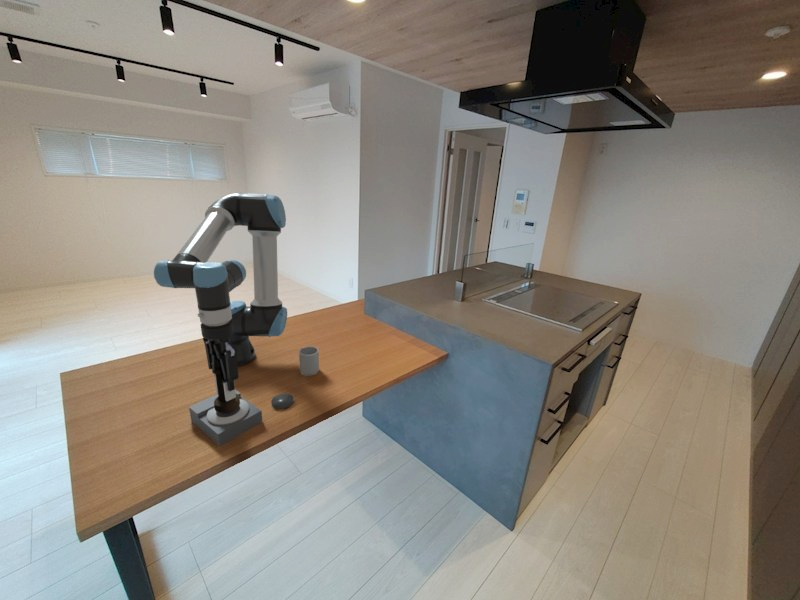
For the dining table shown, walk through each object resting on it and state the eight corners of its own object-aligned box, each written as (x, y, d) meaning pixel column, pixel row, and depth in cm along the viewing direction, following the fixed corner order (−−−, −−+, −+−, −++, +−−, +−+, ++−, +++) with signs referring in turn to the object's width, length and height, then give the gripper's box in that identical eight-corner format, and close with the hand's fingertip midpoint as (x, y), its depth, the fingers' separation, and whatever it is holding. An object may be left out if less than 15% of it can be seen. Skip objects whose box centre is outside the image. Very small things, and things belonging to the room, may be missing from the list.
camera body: (191, 421, 100) (188, 406, 98) (233, 400, 110) (231, 387, 108) (219, 446, 91) (217, 430, 89) (262, 421, 101) (261, 407, 100)
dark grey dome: (267, 403, 109) (266, 400, 109) (285, 393, 115) (284, 390, 115) (280, 412, 106) (280, 409, 105) (298, 401, 111) (298, 398, 111)
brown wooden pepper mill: (233, 396, 102) (227, 343, 96) (244, 405, 98) (238, 351, 92) (210, 406, 97) (202, 351, 91) (220, 416, 93) (213, 359, 87)
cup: (304, 378, 125) (304, 357, 122) (293, 366, 132) (292, 346, 129) (322, 372, 129) (321, 352, 126) (310, 361, 136) (310, 342, 133)
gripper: (186, 316, 90) (198, 390, 98) (219, 334, 81) (229, 414, 89) (214, 309, 96) (223, 379, 104) (248, 325, 87) (255, 401, 95)
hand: (226, 395), depth 96 cm, fingers closed on brown wooden pepper mill, 4 cm apart
